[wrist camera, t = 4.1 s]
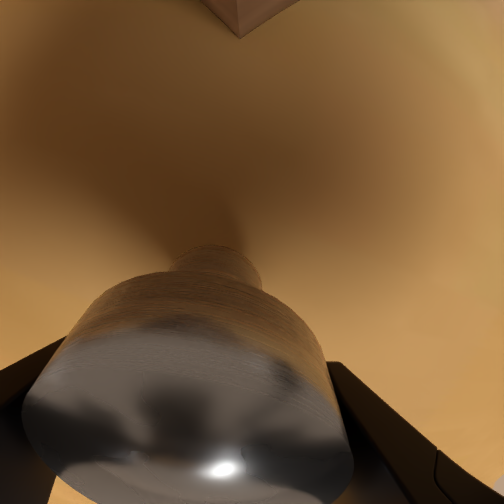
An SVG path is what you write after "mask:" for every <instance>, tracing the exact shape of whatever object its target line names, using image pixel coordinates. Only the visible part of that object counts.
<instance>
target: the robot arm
mask: <svg viewBox="0 0 504 504" xmlns="http://www.w3.org/2000/svg"><path fill="white" fill-rule="evenodd" d="M66 337H67V336H65V337H63V338H61V339H59V340H57V341H56V342H54V343H52V344H50V345H48V346H46V347H44V348H42V349H40V350H38V351H36V352H35V353H33V354H31V355H29V356H27V357H25V358H23V359H21V360H19V361H17V362H16V363H14V364H12V365H10V366H8V367H6V368H4V369H2V370H0V504H47V503H48V500H49V497H50V494H51V490H52V487H53V484H54V481H55V478H56V474H55V473H54V472H53V471H52V470H51V469H50V468H49V467H48V466H47V465H46V464H45V463H44V462H43V460H42V459H41V458H40V457H39V455H38V454H37V453H36V451H35V450H34V448H33V447H32V445H31V443H30V441H29V440H28V437H27V435H26V433H25V430H24V427H23V422H22V405H23V402H24V399H25V396H26V395H27V393H28V392H29V390H30V389H31V387H32V386H33V384H34V383H35V381H36V380H37V378H38V377H39V375H40V374H41V372H42V371H43V369H44V368H45V366H46V365H47V364H48V362H49V361H50V359H51V358H52V356H53V355H54V354H55V352H56V351H57V349H58V348H59V347H60V345H61V344H62V342H63V341H64V340H65V338H66ZM326 364H327V368H328V371H329V374H330V378H331V381H332V385H333V388H334V391H335V395H336V398H337V402H338V405H339V409H340V412H341V416H342V419H343V423H344V426H345V430H346V434H347V437H348V441H349V445H350V448H351V452H352V456H353V460H354V472H353V476H352V479H351V481H350V483H349V485H348V486H347V488H346V490H345V491H344V492H343V493H342V494H341V495H340V496H339V497H338V498H337V499H336V500H335V501H334V502H333V503H331V504H504V496H502V495H501V494H499V493H497V492H496V491H494V490H493V489H491V488H490V487H488V486H487V485H485V484H484V483H482V482H481V481H479V480H478V479H476V478H475V477H473V476H472V475H471V474H469V473H468V472H466V471H465V470H464V469H463V468H461V467H460V466H459V465H458V464H456V463H455V462H454V461H453V460H451V459H450V458H449V457H448V456H447V455H445V454H444V453H443V452H442V451H441V450H437V447H436V446H435V445H434V444H432V443H431V442H430V441H429V440H428V439H427V438H426V437H424V436H423V435H422V434H421V433H420V432H419V431H417V430H416V429H415V428H414V427H413V426H412V425H411V424H409V423H408V422H407V421H406V420H405V419H404V418H403V417H401V416H400V415H399V414H398V413H397V412H396V411H395V410H394V409H392V408H391V407H390V406H389V405H388V404H387V403H386V402H384V401H383V400H382V399H381V398H380V397H379V396H378V395H377V394H375V393H374V392H373V391H372V390H371V389H370V388H369V387H368V386H367V385H365V384H364V383H363V382H362V381H361V380H360V379H359V378H358V377H356V376H355V375H354V374H353V373H352V372H351V371H350V370H349V369H348V368H346V367H345V366H344V365H343V364H342V363H341V362H337V361H326Z"/></svg>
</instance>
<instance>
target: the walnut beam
mask: <svg viewBox="0 0 504 504" xmlns="http://www.w3.org/2000/svg"><path fill="white" fill-rule="evenodd" d="M200 1H201V2H202V3H204V4H205V5H206V6H207V7H208V8H209V9H210V10H211V11H212V12H213V13H214V14H215V15H216V16H217V17H218V18H219V19H220V20H222V21H223V22H224V23H225V24H226V25H227V26H228V27H229V28H230V29H231V30H232V31H233V32H234V33H235V34H236V35H237V36H238V37H239V38H240V39H241V38H242V37H243V36H245V35H246V34H248V33H249V32H251V31H252V30H253V29H255V28H256V27H258V26H259V25H261V24H262V23H264V22H265V21H267V20H268V19H270V18H271V17H273V16H275V15H276V14H278V13H279V12H281V11H283V10H284V9H286V8H287V7H289V6H291V5H292V4H294V3H296V2H297V1H299V0H200Z"/></svg>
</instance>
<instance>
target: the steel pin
mask: <svg viewBox="0 0 504 504" xmlns="http://www.w3.org/2000/svg"><path fill="white" fill-rule="evenodd" d="M22 422H23V427H24V430H25V433H26V435H27V437H28V440H29V441H30V443H31V445H32V447H33V448H34V450H35V451H36V453H37V454H38V455H39V457H40V458H41V459H42V460H43V462H44V463H45V464H46V465H47V466H48V467H49V468H50V469H51V470H52V471H53V472H54V473H55V474H56V475H57V476H58V477H59V478H61V479H62V480H63V481H64V482H66V483H67V484H68V485H69V486H71V487H72V488H73V489H75V490H76V491H78V492H79V493H81V494H82V495H84V496H85V497H87V498H89V499H90V500H92V501H94V502H96V503H97V504H331V503H333V502H334V501H335V500H336V499H337V498H338V497H339V496H340V495H341V494H342V493H343V492H344V491H345V490H346V488H347V486H348V485H349V483H350V481H351V479H352V476H353V472H354V460H353V456H352V452H351V448H350V445H349V441H348V437H347V434H346V430H345V426H344V423H343V419H342V416H341V412H340V409H339V405H338V402H337V398H336V395H335V391H334V388H333V385H332V381H331V378H330V374H329V371H328V368H327V364H326V361H325V358H324V355H323V352H322V349H321V346H320V344H319V342H318V341H317V339H316V337H315V335H314V333H313V332H312V331H311V329H310V328H309V327H308V326H307V324H306V323H305V322H304V321H303V320H302V319H301V318H300V317H299V316H298V315H297V314H296V313H295V312H294V311H293V310H292V309H291V308H289V307H288V306H286V305H285V304H284V303H282V302H281V301H279V300H278V299H276V298H275V297H273V296H271V295H269V294H267V293H266V292H264V291H262V284H261V280H260V277H259V274H258V272H257V270H256V269H255V267H254V266H253V265H252V263H251V262H250V261H249V260H248V259H247V258H246V257H244V256H243V255H242V254H240V253H238V252H236V251H234V250H232V249H230V248H226V247H222V246H215V245H208V246H201V247H196V248H194V249H191V250H189V251H187V252H185V253H184V254H182V255H181V256H180V257H179V258H178V259H177V260H176V261H175V262H174V263H173V265H172V266H171V268H170V270H169V271H168V272H157V273H151V274H146V275H142V276H137V277H134V278H131V279H129V280H126V281H124V282H121V283H119V284H117V285H115V286H114V287H112V288H110V289H108V290H107V291H105V292H104V293H103V294H102V295H100V296H99V297H98V298H97V299H96V300H95V301H94V302H93V303H92V304H91V305H90V307H89V308H88V309H87V310H86V312H85V313H84V314H83V315H82V317H81V318H80V319H79V321H78V322H77V323H76V325H75V326H74V327H73V329H72V330H71V331H70V333H69V334H68V335H67V337H66V338H65V340H64V341H63V342H62V344H61V345H60V347H59V348H58V349H57V351H56V352H55V354H54V355H53V356H52V358H51V359H50V361H49V362H48V364H47V365H46V366H45V368H44V369H43V371H42V372H41V374H40V375H39V377H38V378H37V380H36V381H35V383H34V384H33V386H32V387H31V389H30V390H29V392H28V393H27V395H26V396H25V399H24V402H23V405H22Z"/></svg>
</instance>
